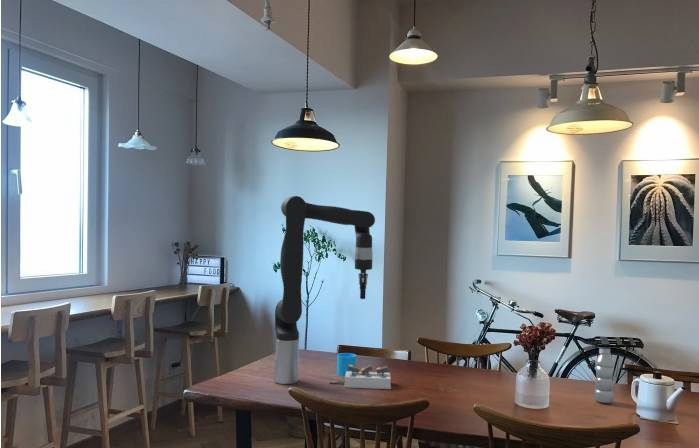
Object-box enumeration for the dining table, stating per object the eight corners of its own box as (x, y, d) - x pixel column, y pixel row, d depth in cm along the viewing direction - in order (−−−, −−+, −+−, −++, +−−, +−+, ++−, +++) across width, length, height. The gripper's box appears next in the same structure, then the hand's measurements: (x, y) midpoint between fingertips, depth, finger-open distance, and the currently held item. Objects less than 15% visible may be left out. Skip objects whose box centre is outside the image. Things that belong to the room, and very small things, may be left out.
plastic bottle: (596, 398, 203) (597, 345, 204) (615, 402, 199) (616, 348, 199) (591, 402, 198) (592, 348, 199) (611, 406, 194) (612, 351, 194)
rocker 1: (347, 370, 215) (348, 366, 215) (347, 368, 218) (349, 364, 218) (358, 373, 215) (359, 369, 215) (358, 371, 218) (359, 367, 218)
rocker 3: (377, 374, 214) (376, 369, 214) (377, 372, 217) (376, 368, 217) (388, 371, 214) (387, 367, 214) (388, 369, 217) (387, 365, 217)
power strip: (328, 386, 211) (328, 374, 211) (330, 380, 220) (330, 368, 220) (390, 389, 210) (391, 376, 210) (390, 382, 219) (390, 370, 219)
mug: (353, 377, 226) (353, 357, 226) (334, 375, 228) (335, 356, 228) (359, 370, 238) (360, 352, 238) (341, 369, 240) (342, 350, 240)
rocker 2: (362, 375, 214) (360, 371, 215) (363, 373, 218) (361, 369, 218) (372, 369, 214) (370, 365, 214) (372, 367, 218) (370, 363, 218)
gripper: (355, 257, 236) (354, 296, 235) (354, 258, 223) (353, 300, 222) (372, 257, 235) (371, 297, 235) (372, 259, 222) (371, 300, 222)
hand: (362, 298), depth 229 cm, fingers closed
